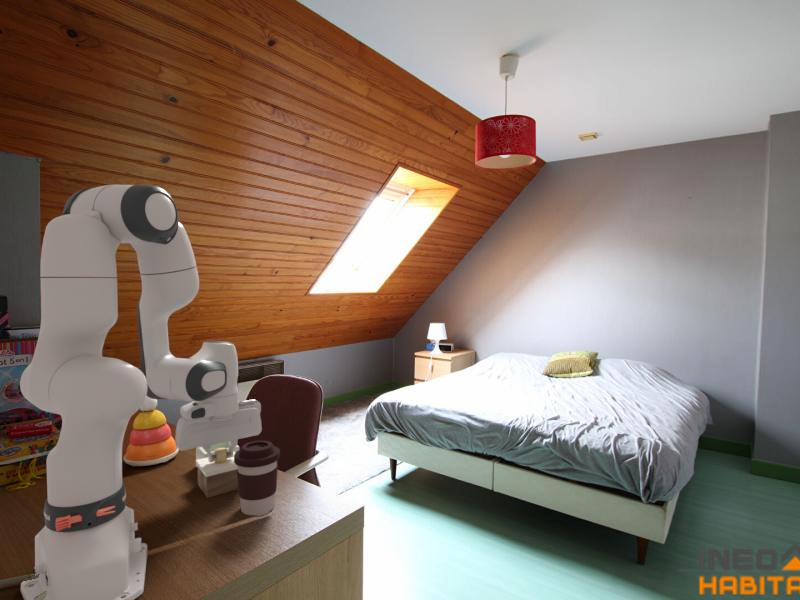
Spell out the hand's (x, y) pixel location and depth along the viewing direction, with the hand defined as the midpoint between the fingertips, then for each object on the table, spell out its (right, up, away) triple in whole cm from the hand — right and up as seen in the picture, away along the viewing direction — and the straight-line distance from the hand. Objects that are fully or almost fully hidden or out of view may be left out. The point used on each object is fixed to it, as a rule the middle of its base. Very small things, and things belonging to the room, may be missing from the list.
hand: (220, 459), depth 113 cm
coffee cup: (+13, -8, -10) cm, 18 cm away
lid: (0, -2, 0) cm, 2 cm away
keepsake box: (0, -8, 0) cm, 8 cm away
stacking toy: (-28, -7, +19) cm, 35 cm away
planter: (-5, -7, +11) cm, 14 cm away
